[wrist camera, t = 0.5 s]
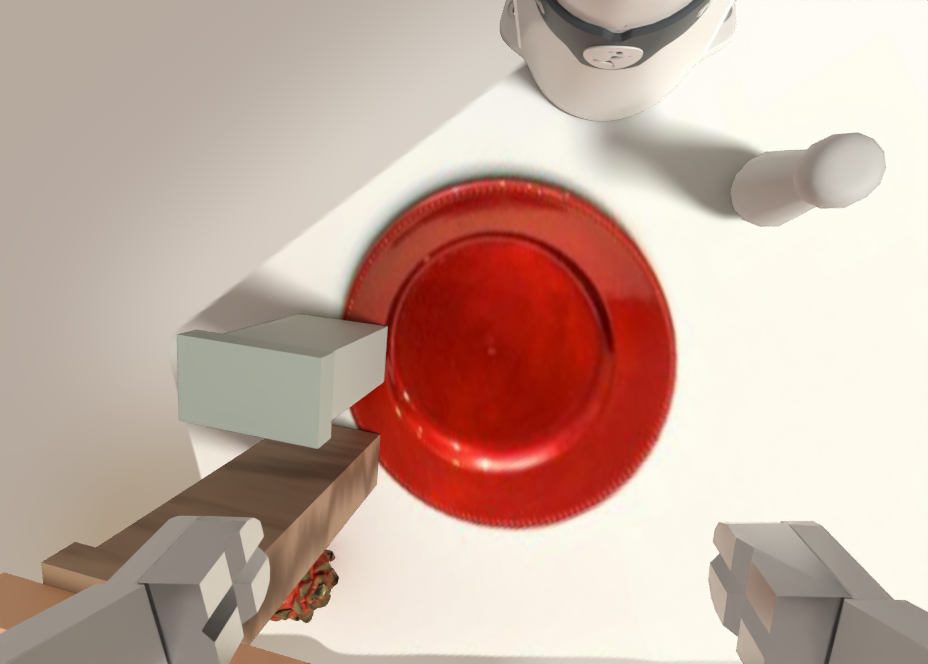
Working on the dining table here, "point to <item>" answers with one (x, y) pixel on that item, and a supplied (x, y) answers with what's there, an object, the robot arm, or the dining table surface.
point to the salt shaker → (807, 179)
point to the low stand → (279, 376)
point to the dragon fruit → (310, 591)
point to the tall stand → (252, 513)
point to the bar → (20, 599)
